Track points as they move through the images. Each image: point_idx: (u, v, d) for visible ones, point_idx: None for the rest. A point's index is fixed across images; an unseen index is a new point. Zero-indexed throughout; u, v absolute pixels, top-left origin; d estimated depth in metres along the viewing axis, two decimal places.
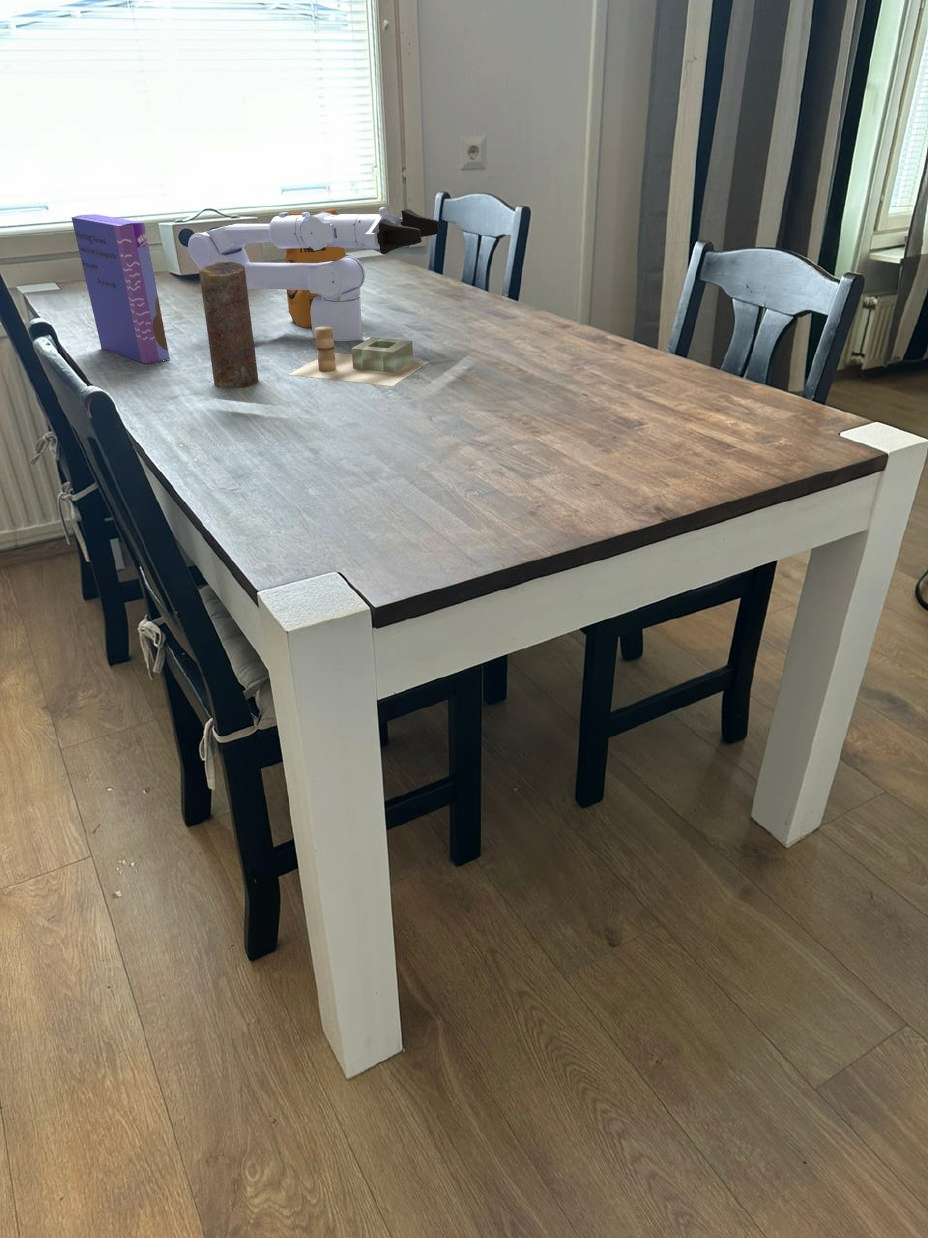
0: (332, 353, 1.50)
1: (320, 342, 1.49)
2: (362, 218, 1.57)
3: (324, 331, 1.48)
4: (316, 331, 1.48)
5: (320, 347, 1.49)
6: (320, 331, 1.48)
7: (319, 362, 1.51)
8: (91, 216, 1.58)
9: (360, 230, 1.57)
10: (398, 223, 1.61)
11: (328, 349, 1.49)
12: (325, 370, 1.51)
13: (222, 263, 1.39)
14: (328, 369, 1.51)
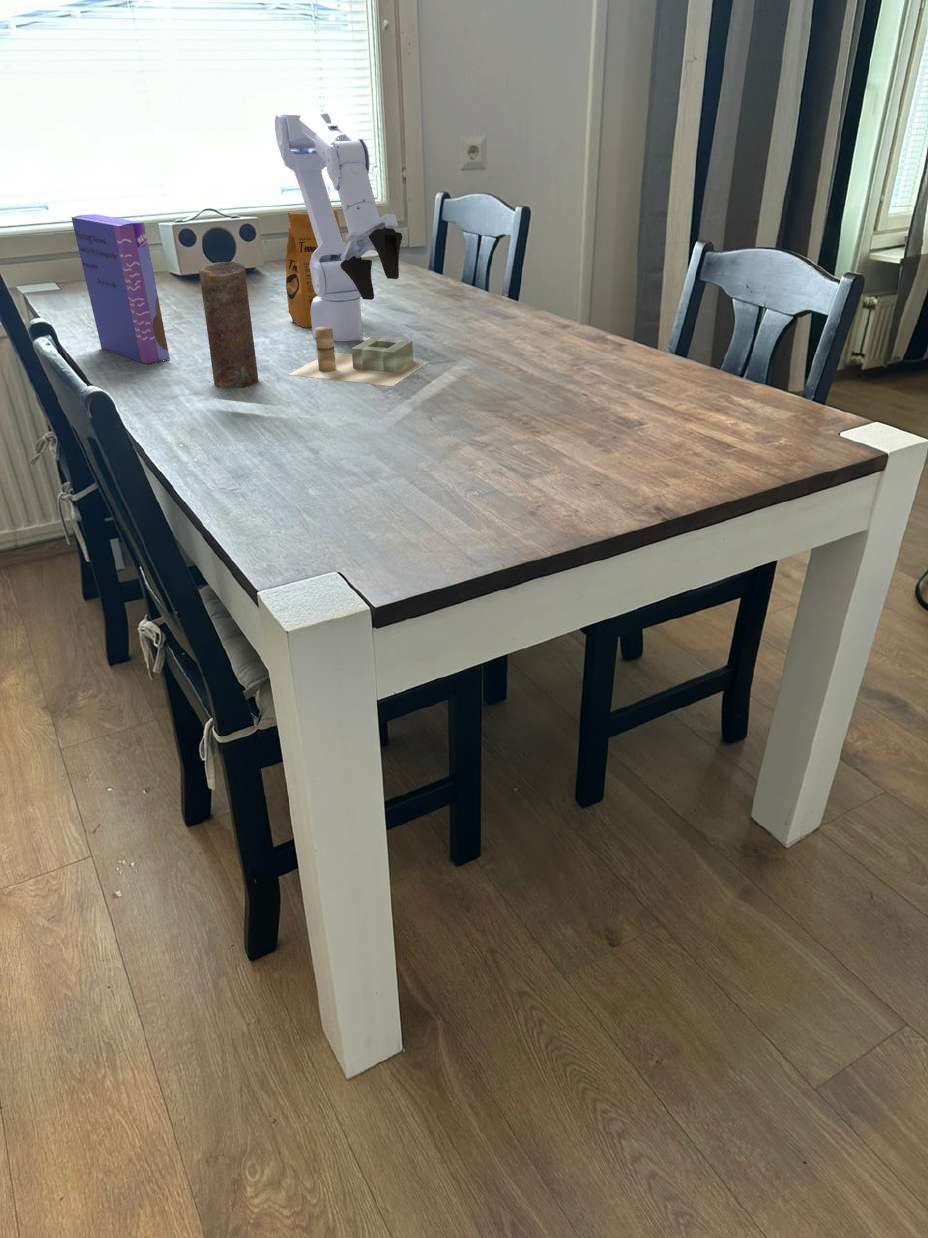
0: (332, 353, 1.50)
1: (320, 342, 1.49)
2: (345, 219, 1.47)
3: (324, 331, 1.48)
4: (316, 331, 1.48)
5: (320, 347, 1.49)
6: (320, 331, 1.48)
7: (319, 362, 1.51)
8: (91, 216, 1.58)
9: None
10: (380, 227, 1.44)
11: (328, 349, 1.49)
12: (325, 370, 1.51)
13: (222, 263, 1.39)
14: (328, 369, 1.51)
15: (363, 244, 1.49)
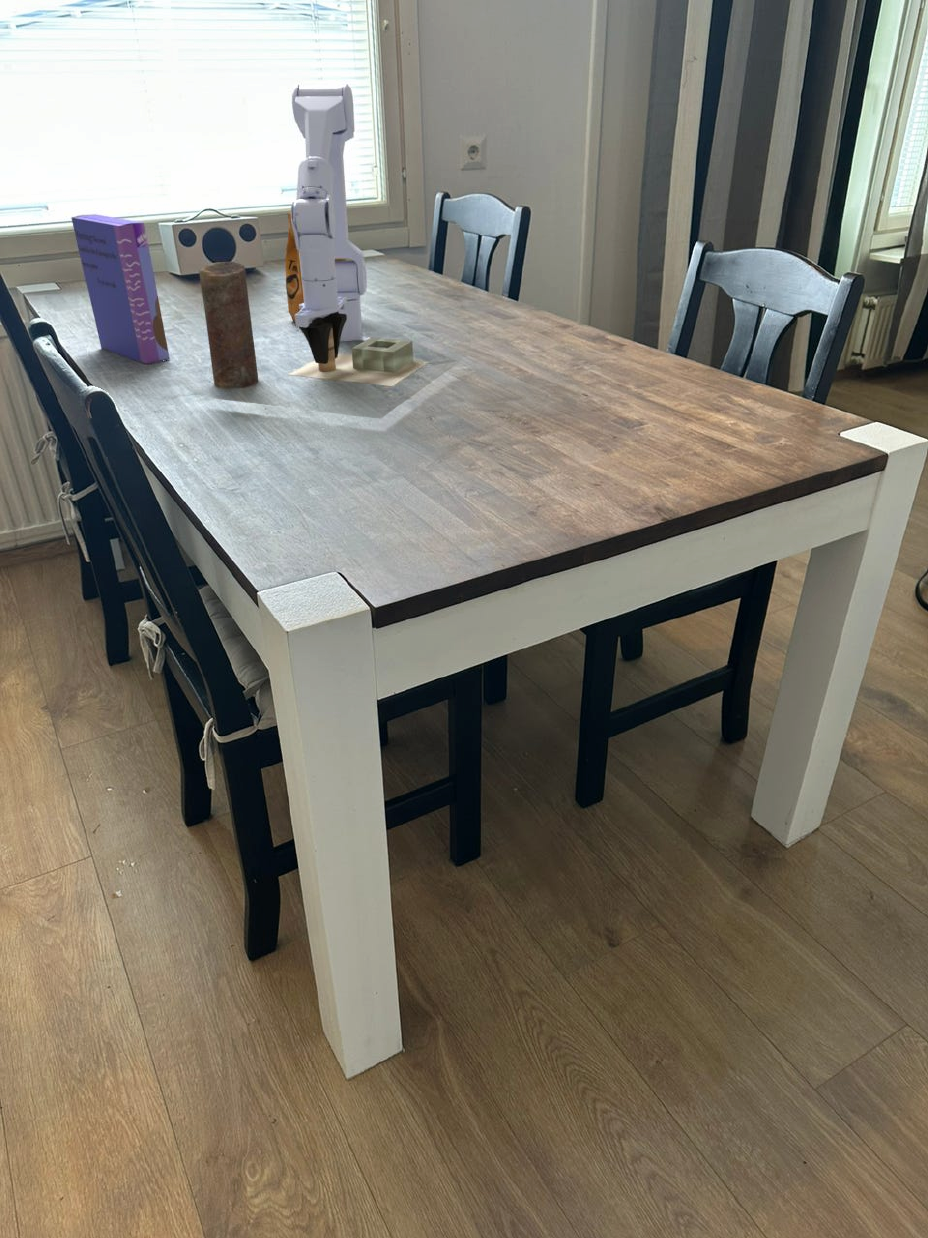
0: (332, 353, 1.50)
1: None
2: None
3: None
4: None
5: None
6: None
7: None
8: (91, 216, 1.58)
9: None
10: None
11: (328, 349, 1.49)
12: (325, 370, 1.51)
13: (222, 263, 1.39)
14: (328, 369, 1.51)
15: None
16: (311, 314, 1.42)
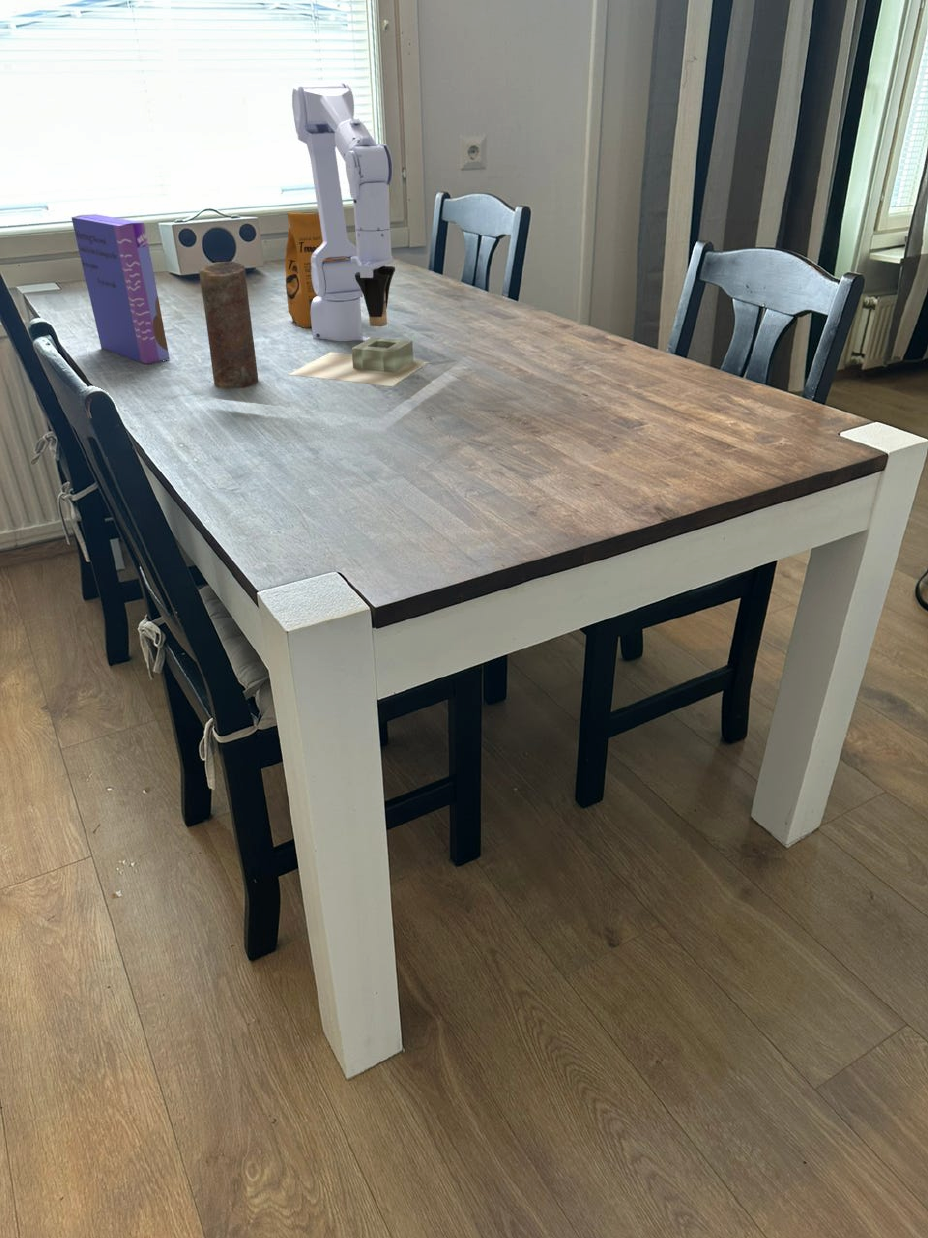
0: (385, 306, 1.49)
1: None
2: None
3: None
4: None
5: None
6: None
7: (372, 317, 1.49)
8: (91, 216, 1.58)
9: None
10: None
11: None
12: (379, 324, 1.50)
13: (222, 263, 1.39)
14: (382, 324, 1.50)
15: None
16: (375, 264, 1.40)
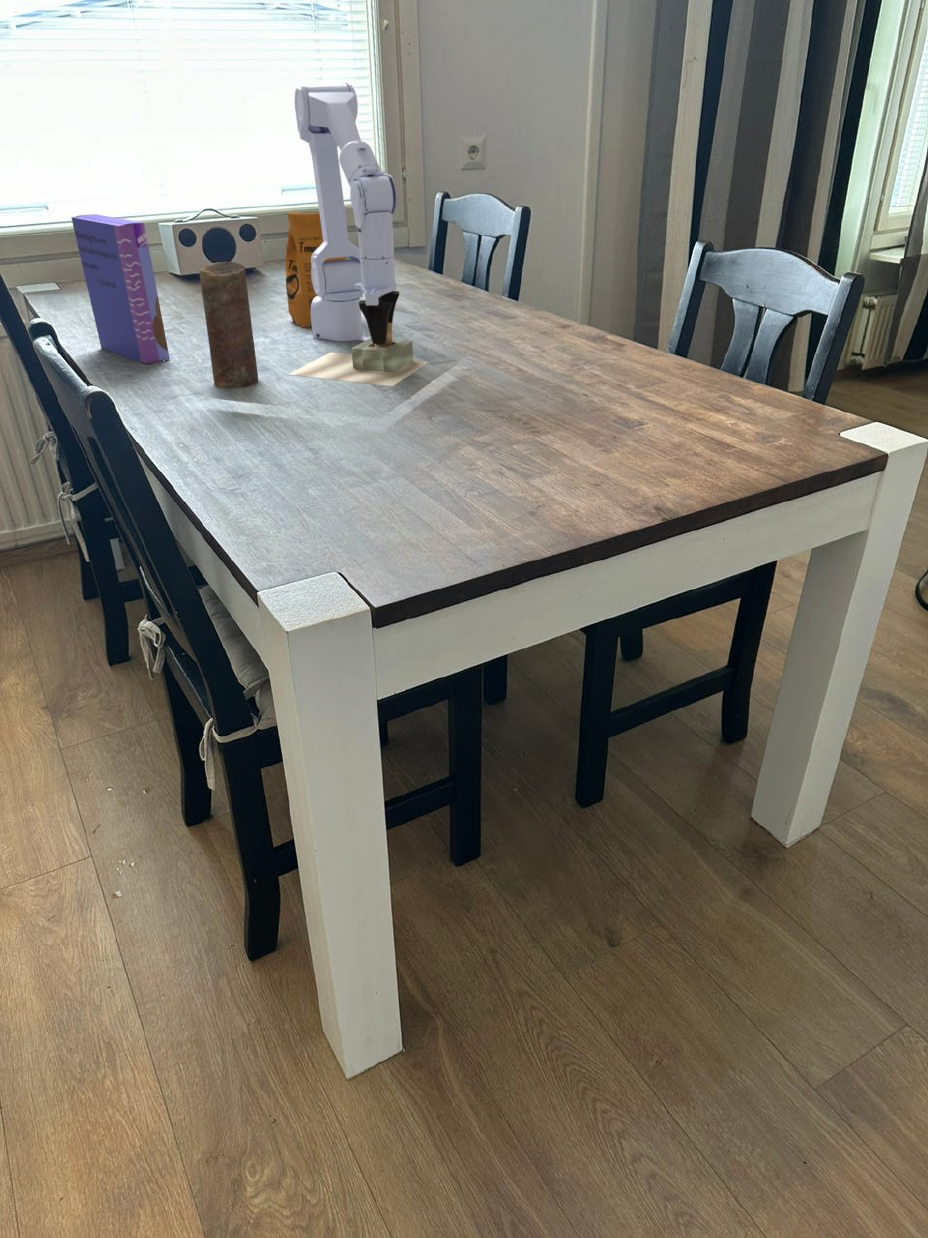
0: None
1: None
2: None
3: (387, 326, 1.50)
4: None
5: None
6: None
7: None
8: (91, 216, 1.58)
9: None
10: None
11: (389, 344, 1.52)
12: None
13: (222, 263, 1.39)
14: None
15: None
16: (380, 292, 1.43)
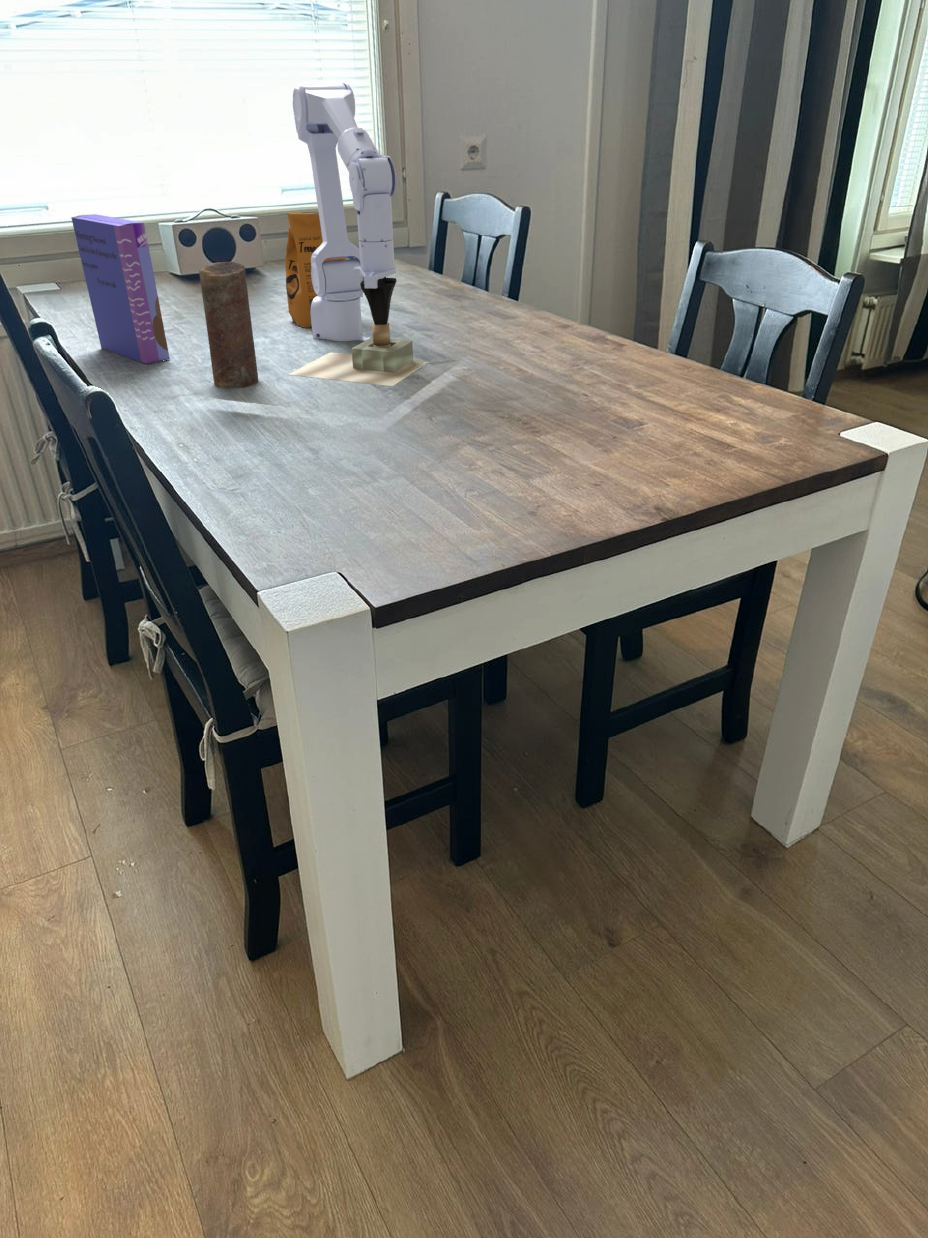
0: None
1: (379, 337, 1.51)
2: None
3: (384, 325, 1.50)
4: (375, 326, 1.50)
5: (379, 342, 1.51)
6: (380, 326, 1.50)
7: None
8: (91, 216, 1.58)
9: None
10: None
11: (387, 343, 1.52)
12: None
13: (222, 263, 1.39)
14: None
15: None
16: (379, 275, 1.41)
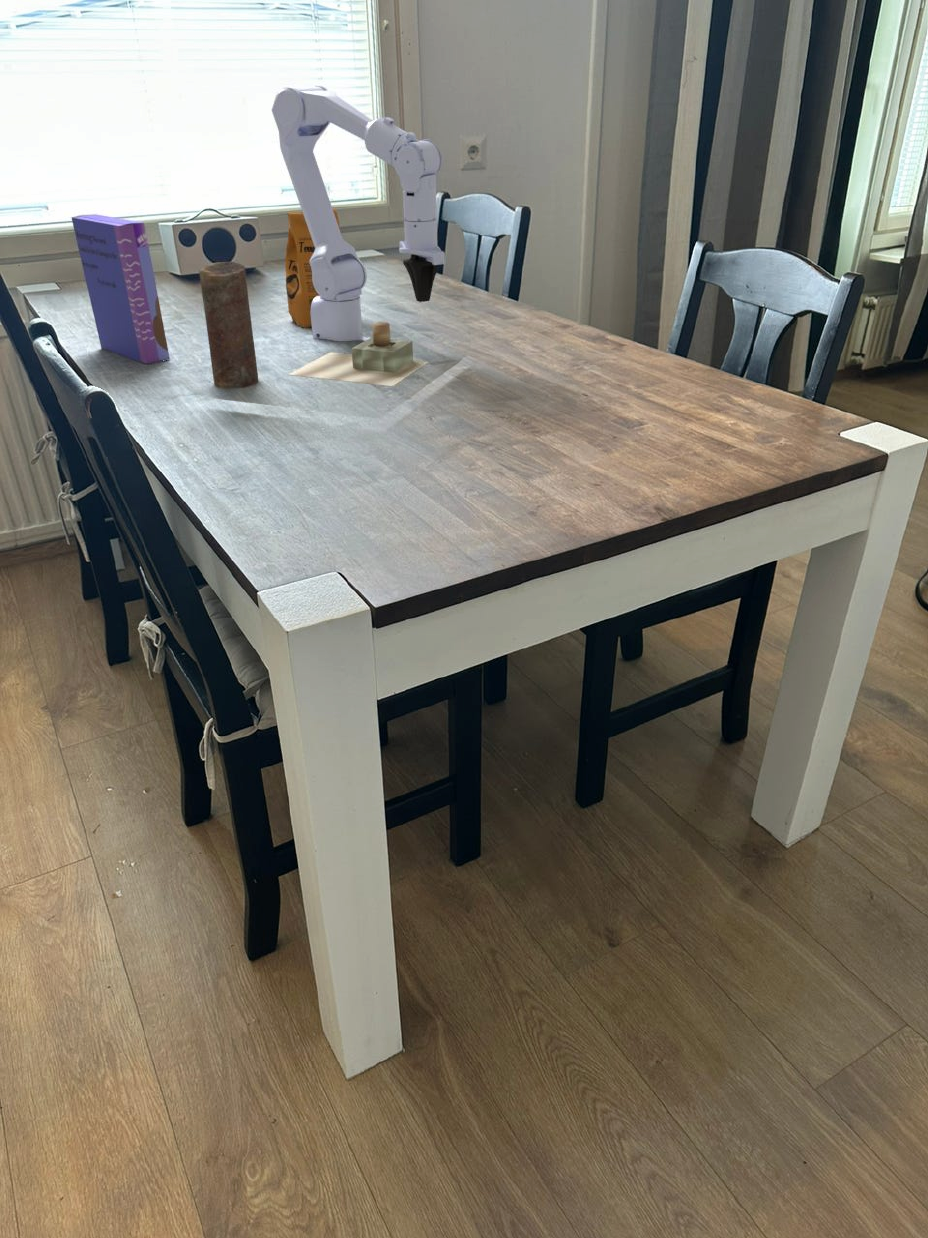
0: None
1: (379, 337, 1.51)
2: (404, 226, 1.52)
3: (384, 326, 1.50)
4: (375, 327, 1.50)
5: (379, 343, 1.51)
6: (380, 327, 1.50)
7: None
8: (91, 216, 1.58)
9: None
10: None
11: (387, 344, 1.52)
12: None
13: (222, 263, 1.39)
14: None
15: None
16: (441, 251, 1.50)
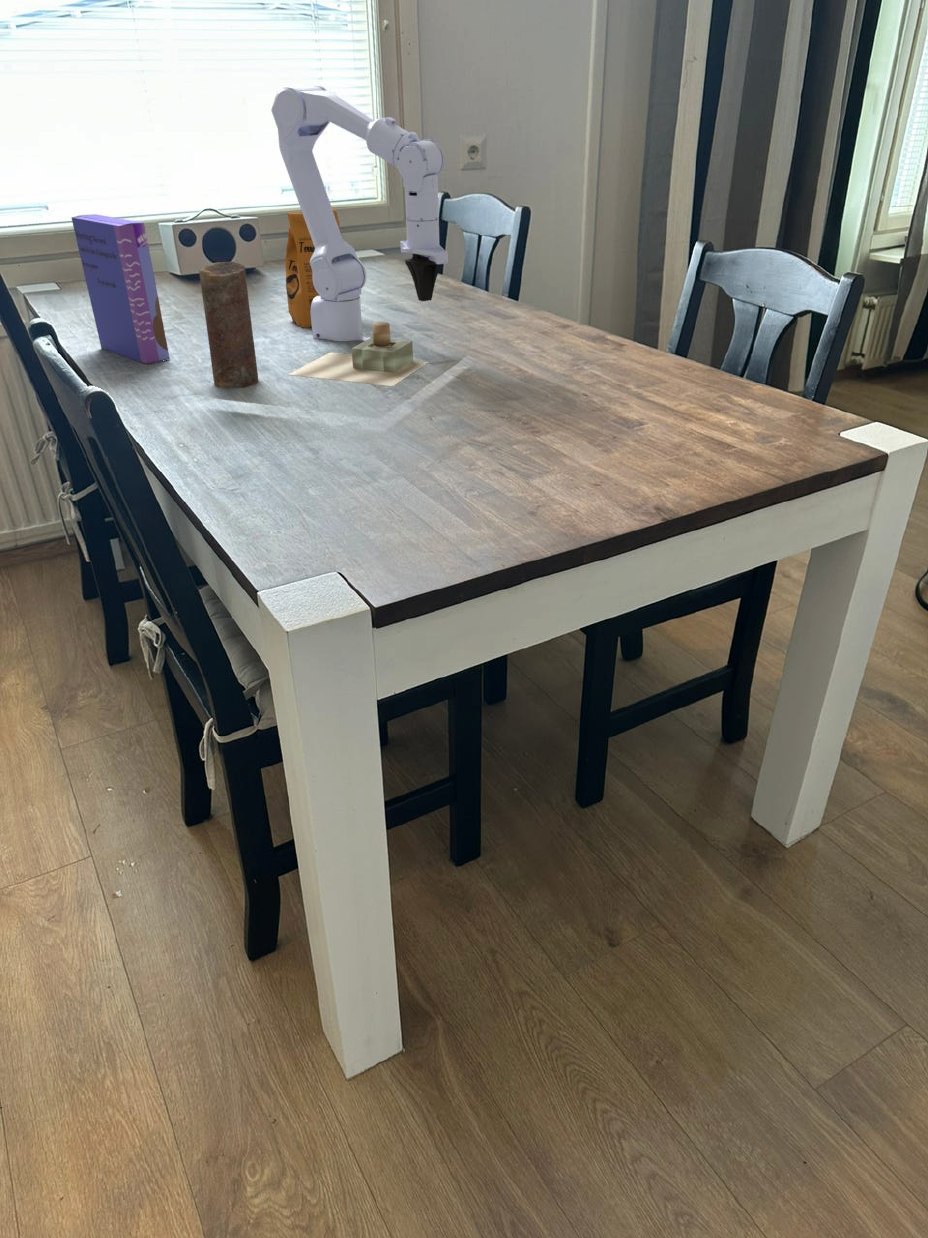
0: None
1: (379, 337, 1.51)
2: (406, 225, 1.52)
3: (384, 326, 1.50)
4: (375, 327, 1.50)
5: (379, 343, 1.51)
6: (380, 327, 1.50)
7: None
8: (91, 216, 1.58)
9: None
10: None
11: (387, 344, 1.52)
12: None
13: (222, 263, 1.39)
14: None
15: None
16: None
